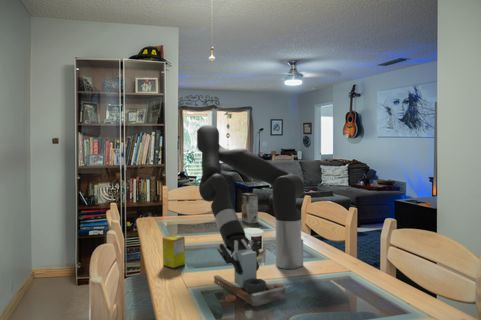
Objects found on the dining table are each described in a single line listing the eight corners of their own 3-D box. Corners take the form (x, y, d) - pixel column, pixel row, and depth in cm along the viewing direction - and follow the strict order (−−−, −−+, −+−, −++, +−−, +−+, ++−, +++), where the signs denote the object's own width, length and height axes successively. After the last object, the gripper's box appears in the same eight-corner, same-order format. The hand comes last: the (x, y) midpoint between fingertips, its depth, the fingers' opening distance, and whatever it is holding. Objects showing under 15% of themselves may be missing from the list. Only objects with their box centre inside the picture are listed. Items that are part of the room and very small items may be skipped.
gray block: (248, 279, 126) (247, 248, 125) (256, 284, 122) (256, 252, 121) (234, 282, 123) (234, 250, 123) (242, 287, 119) (242, 254, 118)
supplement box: (174, 262, 149) (174, 234, 149) (185, 265, 146) (185, 236, 145) (162, 266, 145) (161, 237, 144) (173, 270, 141) (172, 239, 141)
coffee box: (241, 220, 229) (240, 193, 229) (251, 219, 232) (250, 192, 231) (248, 223, 221) (247, 195, 220) (258, 222, 224) (258, 194, 223)
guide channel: (253, 272, 137) (253, 263, 137) (297, 295, 116) (297, 285, 116) (201, 283, 127) (200, 274, 127) (239, 310, 106) (239, 299, 106)
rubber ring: (257, 288, 122) (257, 277, 122) (268, 295, 117) (268, 283, 116) (241, 292, 119) (241, 280, 119) (251, 299, 114) (251, 287, 113)
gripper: (244, 229, 136) (263, 273, 126) (206, 235, 129) (224, 282, 119) (252, 217, 131) (273, 261, 122) (213, 221, 124) (232, 269, 114)
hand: (248, 271), depth 120 cm, fingers closed on gray block, 5 cm apart
